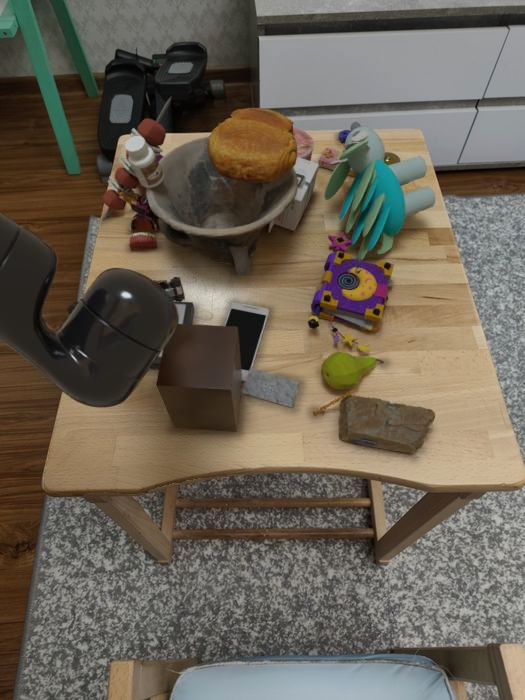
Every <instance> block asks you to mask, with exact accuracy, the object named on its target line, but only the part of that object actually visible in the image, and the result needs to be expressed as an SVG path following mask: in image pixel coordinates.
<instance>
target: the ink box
mask: <svg viewBox="0 0 525 700" xmlns="http://www.w3.org/2000/svg"><path fill="white" fill-rule="evenodd" d="M318 163H319V162H315V161H312V160H311V161H309V160H306V159H302V158H299V157H298V158H297V159H296V164H295V165H294V166H293V167H294V170H295V172H296V175H297V178H298V190H297V193H296V196H295V198H294V200H293V201H292V203H291V204H290V205H289V206H288V207H287V208H286V209H285V210H284V211H283V212H282V213H281V214H280V215H279V216H278V217H276V218H275V219H274V220H272V221H271V222H270V223H268V233H269V234H270V233H271V230H272V229H273V226H274V225H276V226H279V227H282V228H285V229H287V230H290V231H293V232H295V231H296V228H297V227H298V225H299V223H300V221H301V219H302V216H303V214H304V213H305V210H306V208H307V206H308V204H309V202H310V199H311V197H312V196H313V192H314V187H315V184H316V179H317V176H318V172H319V167H320V166H319V164H318Z"/></svg>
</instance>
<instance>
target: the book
mask: <svg viewBox="0 0 525 700" xmlns="http://www.w3.org/2000/svg"><path fill="white" fill-rule="evenodd" d="M327 238H328V239H329V241H330V242H331V244H330V246H329V247H328V250H334V252H330V253H329V254H328V255H327V257H326V261H325V263H324V267H323V270H324V273H323V275H322V279H321V281H320V283H321V288H320V289H318V290H316V291H315V293H314V295H313V298H312V301H311V304H310V308H311V311H312V313H313V315H311V316H309V317H308V318H309V320H308V321H307V325H308V327H309V328H310V329H312V330H316V329H317V328H319V327H320V323H319V321H320V318H321V319H324V320H329V323H330V325H331V332H332V333H334V334H336V336H335V338H334V339H333V343H334V344H337V343H338V342H339V338H340V337H342V339H343V340H342V341H341V343H340V344H341V345H344V344H346V343H347V344H348V345H349V347H352V346H353V345H352V344H353V343H354V344H356V345H357V347H358V349H359V350H360V351H363V352H367V351H370V349H371V346H370V344H368V345H366V346H364V345H363V344H362V342H356V341H358V338H357V337H353V336H352V331H350V332H349V333H348V334H347V335H346V334H343V333H341V332H339V328H338V327H335V326H334V325H333V323H332V322H333V321H334V320H336V321H340V322H342V323H343V322H344V323H347V324H351V325H354V326H359V327H360V330H364V331H368V332H372V333H375V334H376V333H377V331H378V328H379V323H380V322H381V320H382V317H383V313H384V308H385V304H386V302H387V301H389V297H388V291H389V290H388V289H389V287H390V286H392V285H393V284H395V283H396V281H395V280H393V279H391V278H392V274H393V271H394V266H395V264H394V263H390V262H387V261H381V260H378V261H377V264H375V263H372V262H368V261H363V260H362V259H360V260H361V261H360V260H358V259H355V258H352V256H353V253H352V254H351V253H348V252H346V247H348V246H352V245H351V243H352V240H351V239H348V238H346V236H345V232H344V231H342V232H341V233H340V234H339V235H337V236H336V235H329V234H328V235H327ZM353 257H355V255H354V256H353Z"/></svg>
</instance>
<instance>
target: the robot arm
mask: <svg viewBox="0 0 525 700" xmlns="http://www.w3.org/2000/svg"><path fill="white" fill-rule="evenodd" d="M58 257H59V256H58V254H57V252H56V250H55V249H54V247H53V246H52V245H51V244H50V243H49V242H47V241H46V240H45V239H43V238H42V237H41V236H39V235H38V234H36V233H35V232H33V231H31V230H30V229H28V228H26V226H24V225H20V223H19V222H17V221H15V220H14V219H12V218H11V217H9V215H6V214H5V213H3V212H1V211H0V342H2V343H4V344H5V345H7V347H9V348H11V349H12V350H13V351H14V352H16V353H17V354H18V355H20V356H21V357H22V358H24V359H25V360H26V361H27V362H28V363H29V364H31V365H32V366H33V367H34V368H36V369H37V370H38V371H39V372H40V373H41V374H42V375H44V376H45V378H47V379H48V380H49V381H50V382H51V383H52V384H53V385H54V386H55V387H57V388H58V389H59V390H60V391H61V392H62V393H64V394H65V395H66V396H68V397H69V398H70V399H72V400H74V401H75V402H77V403H79V404H81V405H84V406H86V407H90V408H100V409H103V408H104V409H105V408H111V407H112V408H113V407H116V406H119V405H122V404H123V403H124V402H125V401H127V399H128V398H130V397H131V395H132V394H133V393H134V391H135V390H136V388H137V387H138V386H139V384H140V383H141V382H142V381H143V379H144V378H145V376H146V375H147V373H148V372H149V370H151V369H150V367H151V366H152V364H153V363H154V362H155V360H156V359H157V357H158V356H159V354H160V353H161V352H162V350H163V349H164V348H165V346H166V345H167V344H168V342H169V341H170V339H171V338H172V336H173V334H174V333H175V331H176V328H177V326H178V322H179V313H178V309H177V306H176V305H175V303H174V301H175V302H183V301H185V299H186V297H185V291H184V287H183V283H182V279H181V277H180V276H173V277H172V278H170V281H168V280H167V279H165V280H164V279H160V280H156V279H152V278H150V277H149V276H147V275H145V274H143V273H140V272H139V271H135V270H132V269H129V268H123V267H110V268H107V269H105V270H103V271H102V272H100V273H99V274H98V275H97V277H96V278H95V279H94V280H93V281H92V282H91V284H90V285H89V287H88V288H87V290H86V291H85V292H84V294H83V295H82V298H81V299H79V301H73V302H72V303H71V304H70V305H68V307H67V308H66V311H67V314H68V316H67V318H66V320H65V321H64V322H63V324H62V325H61V327H60V328H59V329H56V328H54V327H53V326H51V325H50V324H48V322H47V321H46V320H45V318H44V317H43V311H44V305H45V303H46V300H47V297H48V294H49V292H50V289H51V288H52V284H53V282H54V279H55V277H56V273H57V270H58V267H59V266H58V265H59V258H58Z"/></svg>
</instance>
